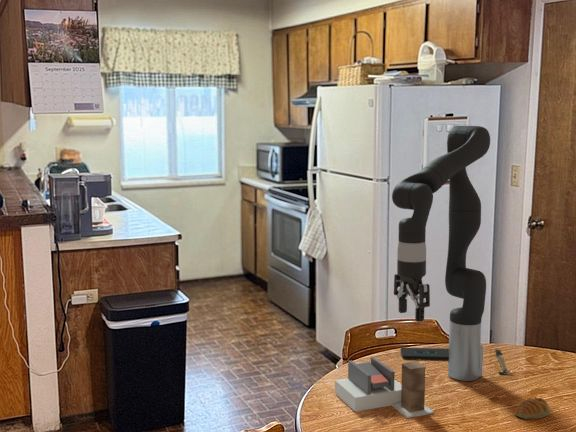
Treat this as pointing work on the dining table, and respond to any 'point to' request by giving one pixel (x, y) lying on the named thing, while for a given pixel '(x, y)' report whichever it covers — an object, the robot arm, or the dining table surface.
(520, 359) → the dining table surface
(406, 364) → the peg
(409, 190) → the robot arm
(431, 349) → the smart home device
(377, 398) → the grey slotted holder
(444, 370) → the dining table surface
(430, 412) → the mat
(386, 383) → the rocker
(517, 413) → the pastry
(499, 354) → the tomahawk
